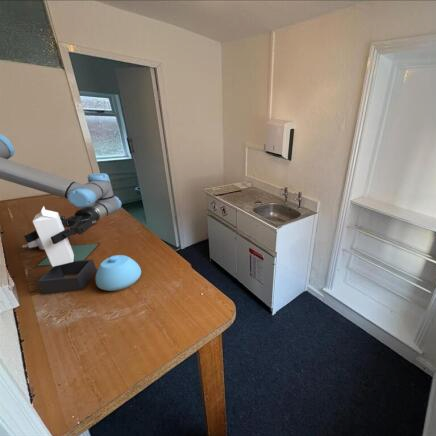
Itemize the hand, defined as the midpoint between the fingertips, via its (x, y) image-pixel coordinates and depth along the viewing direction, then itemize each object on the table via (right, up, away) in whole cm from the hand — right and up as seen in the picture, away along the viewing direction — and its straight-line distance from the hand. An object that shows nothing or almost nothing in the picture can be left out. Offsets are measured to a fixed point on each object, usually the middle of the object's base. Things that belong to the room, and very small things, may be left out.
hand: (39, 239), depth 81 cm
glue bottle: (-33, -6, +34) cm, 48 cm away
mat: (-17, -9, +28) cm, 34 cm away
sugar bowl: (+18, -18, +14) cm, 29 cm away
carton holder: (0, -18, +12) cm, 22 cm away
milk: (-1, -9, +9) cm, 13 cm away
